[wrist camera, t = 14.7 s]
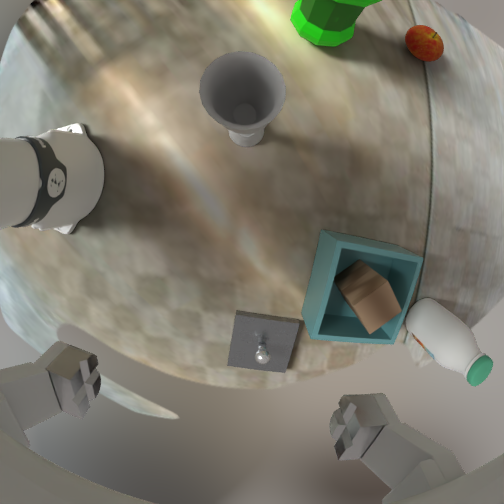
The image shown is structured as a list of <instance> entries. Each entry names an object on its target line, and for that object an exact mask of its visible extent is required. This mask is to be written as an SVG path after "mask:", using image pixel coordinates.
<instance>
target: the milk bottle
mask: <svg viewBox="0 0 504 504" xmlns="http://www.w3.org/2000/svg"><path fill="white" fill-rule="evenodd" d="M406 328H407V330H408V332H409V333H410V334H411V335H412V336H413V337H414V338H415V339H416V341H417V342H418V343H419V344H420V345H421V346H422V347H423V348H424V349H425V350H426V351H427V352H428V353H429V354H430V356H431V357H432V358H433V359H434V360H435V361H437V363H439V364H440V365H441V366H443V367H444V368H447V369H449V370H454V371H458V372H460V373H462V374H464V377H465V379H466V380H467V381H468V382H469V383H470V384H471V385H472V386H477V385H479V384H481V383H482V382H483V381H484V380H485V379H486V378H487V376H488V375H489V373H490V372H491V370H492V367H493V361H492V360H491V358H490V357H488V356H487V355H486V354H485V353H482V352H481V351H480V349H479V348H478V345H477V343H476V339H475V337H474V334H473V333H472V331H471V330H470V328H469V327H468V326H467V325H466V324H465V323H463V322H462V321H461V320H460V319H459V318H457V317H456V316H455V315H454V314H452V313H451V312H450V311H448V310H447V309H446V308H444V307H443V306H442V305H440V304H439V303H438V302H436V301H435V300H433V299H431V298H423V299H421V300H419V301H417V302H416V303H415V304H414V305H413V306H412V307H411V308H410V310H409V312H408V314H407V317H406Z"/></svg>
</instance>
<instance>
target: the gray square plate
mask: <svg viewBox="0 0 504 504" xmlns="http://www.w3.org/2000/svg"><path fill="white" fill-rule="evenodd" d="M299 324H300V323H299V320H298V319H292V318H284V317H277V316H270V315H263V314H256V313H250V312H243V311H237V310H236V316H235V322H234V328H233V334H232V340H231V346H230V351H229V357H228V364H227V366H234V367H241V368H248V369H256V370H264V371H273V372H283V373H285V372H286V369H287V366H288V362H289V359H290V356H291V352H292V349H293V346H294V342H295V339H296V335H297V332H298V328H299Z"/></svg>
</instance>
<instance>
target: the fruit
mask: <svg viewBox="0 0 504 504" xmlns="http://www.w3.org/2000/svg"><path fill="white" fill-rule="evenodd" d="M405 42H406V45H407V47H408V49H409V51H410V52H411V53H412V54H413V55H414V56H415V57H416V58H418V59H420V60H423V61H428V62H430V61H435V60H437V59H438V58H440V57H441V55H442V53H443V50H444V46H443V41H442V39H441V37H440V36H439V35H438V34H437V32H435V31H434V30H433V29H431V28H430V27H428V26H424V25H417V26H414V27H412V28H410V29H409V30H408V31H407V33H406V36H405Z"/></svg>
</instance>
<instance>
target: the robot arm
mask: <svg viewBox="0 0 504 504" xmlns="http://www.w3.org/2000/svg"><path fill="white" fill-rule="evenodd" d="M72 130H73V131H72ZM71 131H72V132H71ZM103 183H104V165H103V160H102V157H101V154H100V152H99V150H98V148H97V147H96V146H95V144H94V143H93V142H92V141H91V140H90V139H89V138H88V137H87V134H86V131H85V128H84V126H83V125H82V124H81V123H75V124H71V125H68V126H65V127H62V128H59V129H56V130H54V129H51V130H49V131H48V132H46V133H43V134H41V135H38V136H36V137H34V136H20V137H17V138H15V139H12V138H0V230H1V229H4V228H7V227H10V226H11V227H15V228H16V227H26V226H30V225H32V228H34V229H37V228H39V230H40V231H45V230H50V229H55V230H57V231H59V232H61V233H63V234H70V233H71V232H72V231H73V229H74V228H75V226H76V224H77V222H78V221H79V220H81V219H82V218H84V217H85V216H86V215H88V214H89V213H90V212H91V211H92V209H93V208H94V207H95V205H96V204H97V202H98V200H99V198H100V195H101V192H102V188H103ZM97 365H98V360H97V356H96V355H95V354H93V353H90V352H87V351H85V350H82V349H80V348H77V347H75V346H72V345H69V344H67V343H64V342H62V341H57V342H56V343H55V344H53V345H52V346H51V347H50V348H49V349H48V350H47V351H46V352H45V353H44V354H43V355H42V356H41V357H40V358H39V359H38V360H37V361H36V362H35V363H34V364H33V363H31V362H30V363H25V364H22V365H18V366H14V367H9V368H5V369H1V370H0V504H155V503H151V502H148V501H144V500H141V499H137V498H134V497H131V496H128V495H125V494H122V493H119V492H116V491H114V490H111V489H108V488H106V487H103V486H101V485H98V484H96V483H93V482H91V481H89V480H86V479H84V478H82V477H80V476H78V475H75V474H74V473H71V472H69V471H67V470H65V469H63V468H61V467H60V466H58V465H55V464H54V463H52V462H50V461H49V460H47V459H45V458H43V457H42V456H40V455H38V454H37V453H35V452H33V451H32V450H30V449H29V446H30V442H29V440H28V438H27V437H26V435H25V433H24V430H27V429H29V428H31V427H33V426H35V425H37V424H39V423H41V422H43V421H45V420H47V419H49V418H51V417H52V416H55V415H57V414H59V413H61V412H62V411H63V412H66V413H68V414H71V415H73V416H75V417H78V418H80V419H83V417H84V416H85V414H86V412H87V411H88V409H89V408H90V404H89V401H90V400H93V399H95V398H96V397H97V395H98V393H99V390H100V387H101V377H100V373H99V372H98V371H97V369H96V367H97ZM338 404H339V407H340V408H339V409H338V410H336V411H334V413H333V415H332V417H331V420H330V433H331V436H332V438H334V439H335V440H336V441H337V442H336V444H335V445H334V448H335V451H336V454H337V458H338V460H351V459H361V461H362V462H363V463H364V464H365V465H366V466H367V467H369V469H371V470H372V471H373V472H374V473H375V474H376V475H377V476H378V477H379V478H380V479H381V480H382V481H383V482H384V483H386V484H387V485H388V486H389V487H390V488H391V489H392V491H391V492H390V493H389V494H388V495H386V496H385V497H384V499H383V500H382V502H383V504H504V453H503V454H502V455H500V456H498V457H497V458H495V459H494V460H492V461H490V462H488V463H487V464H485V465H483V466H481V467H479V468H477V469H475V470H473V471H472V472H470V473H467V474H465V472H464V470H463V469H462V467H461V465H460V463H459V462H458V460H457V458H456V457H455V455H454V453H453V452H452V450H450V449H448V448H446V447H444V446H443V445H441V444H439V443H437V442H435V441H434V440H432V439H431V438H429V437H427V436H426V435H424V434H422V433H420V432H419V431H417V430H415V429H414V428H412V427H411V426H409V425H408V424H406V423H401V422H400V420H399V418H398V416H397V415H396V413H395V411H394V409H393V407H392V406H391V404H390V402H389V400H388V399H387V397H386V395H385V394H383V393H377V394H361V395H343V396H342V397H341V399H340V401H339V403H338Z"/></svg>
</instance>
